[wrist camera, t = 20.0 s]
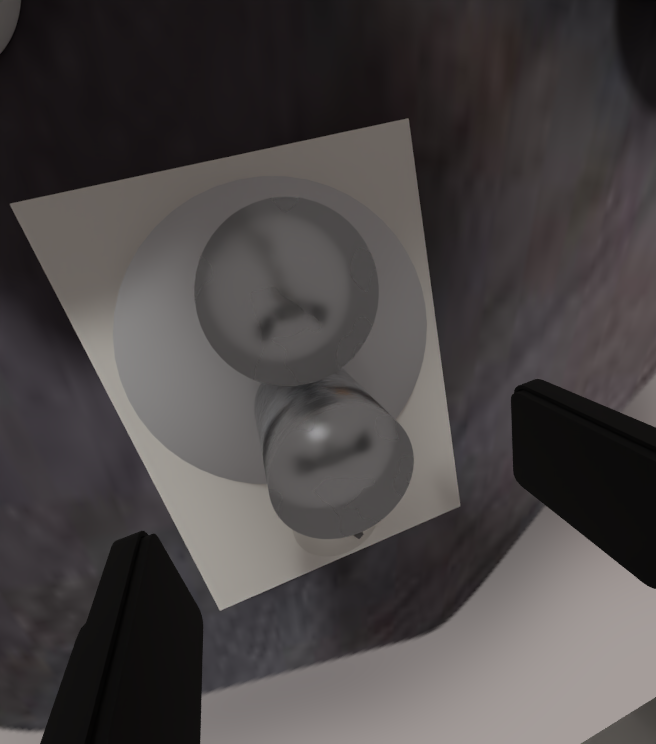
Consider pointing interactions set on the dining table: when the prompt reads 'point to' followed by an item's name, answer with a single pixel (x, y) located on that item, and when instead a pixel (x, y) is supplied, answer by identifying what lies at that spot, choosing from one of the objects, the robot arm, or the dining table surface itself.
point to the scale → (210, 372)
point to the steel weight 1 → (286, 291)
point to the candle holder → (8, 20)
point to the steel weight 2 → (331, 456)
